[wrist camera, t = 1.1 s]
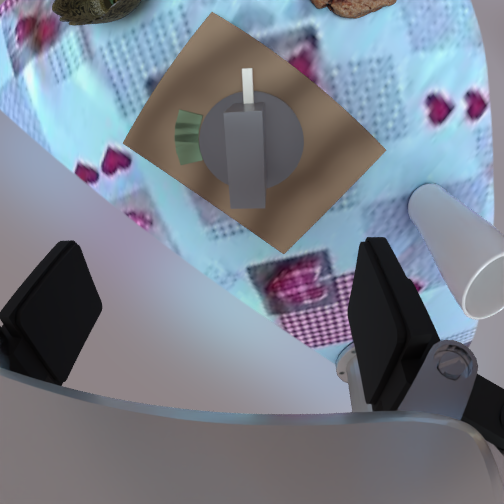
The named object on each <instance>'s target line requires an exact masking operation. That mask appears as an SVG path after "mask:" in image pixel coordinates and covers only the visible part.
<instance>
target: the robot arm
mask: <svg viewBox="0 0 504 504" xmlns="http://www.w3.org/2000/svg"><path fill="white" fill-rule="evenodd" d="M101 311H102V302H101V299H100V297H99V295H98V292H97V290H96V287H95V285H94V282H93V280H92V277H91V275H90V272H89V269H88V267H87V264H86V261H85V259H84V256H83V253H82V250H81V248H80V246H79V245H77V243H75V241H60V242H58V243H57V244H56V246H55V247H54V248H53V249H52V250H51V251H50V252H49V253H48V254H47V255H46V256H45V258H44V259H43V260H42V261H41V262H40V263H39V265H38V266H37V267H36V268H35V269H34V270H33V272H32V273H31V274H30V275H29V276H28V278H27V279H26V280H25V281H24V282H23V284H22V285H21V286H20V287H19V288H18V290H17V291H16V292H15V293H14V295H13V296H12V297H11V299H10V300H9V301H8V303H7V304H6V305H5V306H4V308H3V309H2V310H1V312H0V319H1V321H2V322H3V326H2V327H1V326H0V504H504V389H503V388H501V387H499V386H497V385H496V384H494V383H492V382H491V381H489V380H487V379H485V378H484V377H482V376H480V375H478V374H477V371H478V364H477V360H476V357H475V356H474V354H473V352H472V351H471V350H470V349H469V348H468V347H467V346H465V345H464V344H462V343H460V342H457V341H454V340H443V341H440V339H439V336H438V334H437V332H436V329H435V327H434V325H433V323H432V321H431V318H430V316H429V314H428V312H427V310H426V308H425V306H424V304H423V302H422V300H421V298H420V295H419V293H418V291H417V289H416V287H415V286H414V284H413V282H412V281H411V279H408V278H407V277H406V275H405V273H404V271H403V269H402V267H401V265H400V263H399V262H398V260H397V258H396V256H395V254H394V252H393V250H392V249H391V247H390V245H389V243H388V241H387V240H386V238H384V237H367V238H366V241H365V242H361V243H360V246H359V251H358V257H357V263H356V269H355V275H354V280H353V285H352V290H351V295H350V300H349V305H348V319H349V324H350V328H351V332H352V337H353V342H354V343H352V344H351V345H349V346H348V347H347V348H346V349H344V350H343V351H342V353H341V354H340V355H339V357H338V359H337V361H336V372H337V375H338V376H339V378H340V379H341V380H343V381H344V382H347V383H348V384H349V391H350V398H351V405H352V412H351V413H334V414H240V413H223V412H222V413H221V412H209V411H199V410H189V409H180V408H172V407H163V406H156V405H150V404H143V403H137V402H131V401H125V400H120V399H115V398H110V397H105V396H100V395H95V394H91V393H87V392H83V391H78V390H74V389H70V388H66V387H63V386H62V383H63V382H65V381H66V380H67V378H68V376H69V374H70V372H71V369H72V367H73V365H74V363H75V361H76V359H77V357H78V355H79V353H80V351H81V349H82V347H83V345H84V343H85V341H86V340H87V338H88V336H89V334H90V332H91V330H92V328H93V326H94V324H95V322H96V321H97V319H98V317H99V315H100V313H101Z"/></svg>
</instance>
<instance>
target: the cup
mask: <svg viewBox="0 0 504 504" xmlns="http://www.w3.org/2000/svg"><path fill="white" fill-rule="evenodd" d="M140 2H141V0H55V1H54V3H53V5H52V10H53V12H55V13H56V14H57V15H60V21H66V22H69V25H85V24H99V23H107V22H112V21H116V20H118V19H121V18H123V17H125V16H126V15H128V14H129V13H131V12H132V11H133V10H134V9H135V8H136V7H137V6H138V5H139V3H140Z"/></svg>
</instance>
